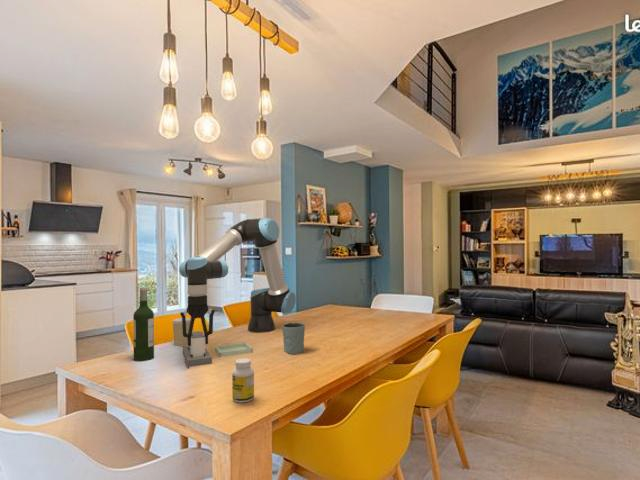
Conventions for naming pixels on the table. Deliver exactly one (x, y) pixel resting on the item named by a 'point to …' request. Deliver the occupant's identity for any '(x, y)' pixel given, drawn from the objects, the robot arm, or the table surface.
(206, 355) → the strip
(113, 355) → the table surface
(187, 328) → the coffee cup
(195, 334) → the plug
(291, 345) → the grey-green cup
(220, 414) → the table surface
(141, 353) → the wine bottle
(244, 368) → the pill bottle
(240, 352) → the tray
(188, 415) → the table surface
